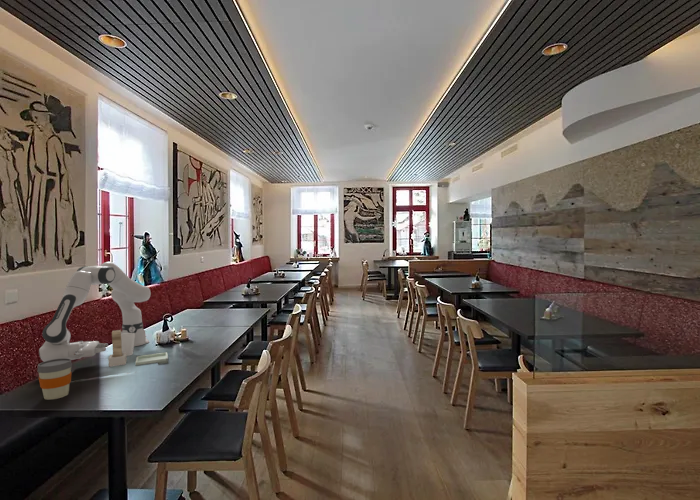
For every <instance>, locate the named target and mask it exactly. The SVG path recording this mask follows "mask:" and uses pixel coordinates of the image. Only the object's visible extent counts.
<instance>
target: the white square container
mask: <svg viewBox="0 0 700 500" xmlns="http://www.w3.org/2000/svg"><path fill="white" fill-rule="evenodd" d="M107 360H108V367H117V366H123V365H124V366H125V365H127V361H128V356H127V354H126V353H122V356H119V357H113V353H112V354H109V356H108V359H107Z"/></svg>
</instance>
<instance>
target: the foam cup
mask: <svg viewBox="0 0 700 500" xmlns="http://www.w3.org/2000/svg"><path fill="white" fill-rule="evenodd" d="M134 338H135V333H123V334H121V342H122V353H126V354H127V357H131V356H132V355H133V354H134V348H135V346H134Z"/></svg>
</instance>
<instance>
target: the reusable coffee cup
mask: <svg viewBox="0 0 700 500" xmlns="http://www.w3.org/2000/svg"><path fill="white" fill-rule="evenodd" d="M72 366H73V364H72V360H71V359H68V358H61V359H53V360H49V361H45V362H44V361H41V362H40V363H38V364H37V371H36V372H37V373H38V382H39V387H40V388H41V391H42V395H43V398H44V400H57V399H60V398H61V399H62V398H64V397H66V396H68V395H69V392H70V384H71V382H72V371H71V370H72Z"/></svg>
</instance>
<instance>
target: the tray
mask: <svg viewBox="0 0 700 500" xmlns="http://www.w3.org/2000/svg"><path fill="white" fill-rule="evenodd" d="M168 354H169V353H168V352H167V351H166V352H159V353H153V354H152V353H151V354H144V355H142V354H141V355H136V358H135V366H143V365H149V364H156V363H157V364H158V365H161V364H163V365H164V364H169V356H168Z"/></svg>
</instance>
